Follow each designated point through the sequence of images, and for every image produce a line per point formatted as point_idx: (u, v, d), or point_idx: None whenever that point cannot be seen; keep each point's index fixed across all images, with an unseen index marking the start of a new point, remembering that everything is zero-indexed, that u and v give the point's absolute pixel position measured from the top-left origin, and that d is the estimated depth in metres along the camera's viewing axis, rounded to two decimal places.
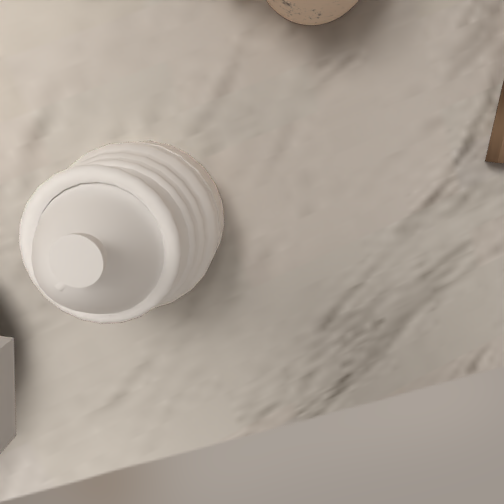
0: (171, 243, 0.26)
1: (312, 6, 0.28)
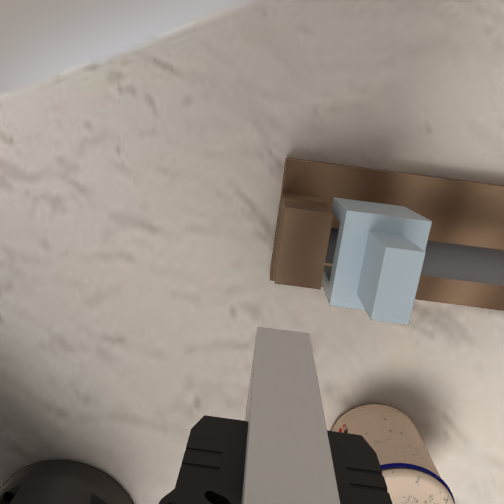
0: None
1: None
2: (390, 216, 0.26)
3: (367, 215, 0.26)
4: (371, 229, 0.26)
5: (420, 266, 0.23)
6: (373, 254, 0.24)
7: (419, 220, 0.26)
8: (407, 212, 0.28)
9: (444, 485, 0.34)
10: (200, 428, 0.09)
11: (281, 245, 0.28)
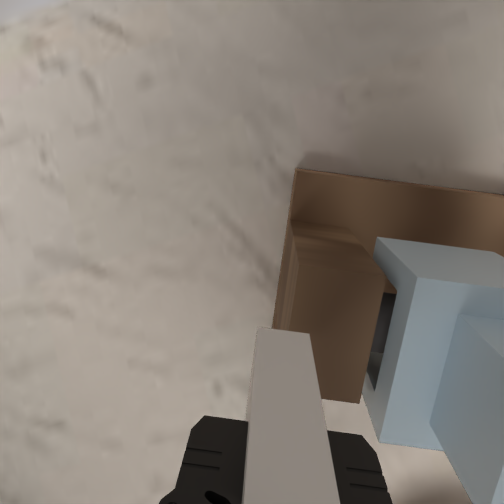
0: None
1: None
2: (500, 288, 0.14)
3: (456, 286, 0.14)
4: (463, 312, 0.14)
5: None
6: (479, 373, 0.12)
7: None
8: None
9: None
10: (200, 428, 0.09)
11: (291, 330, 0.16)
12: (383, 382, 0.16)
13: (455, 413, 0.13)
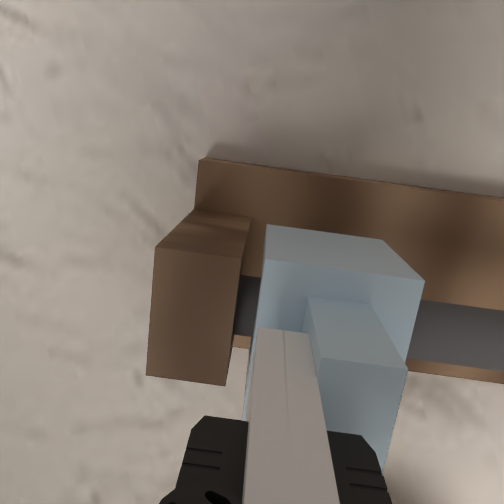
0: None
1: None
2: (347, 270, 0.14)
3: (303, 268, 0.14)
4: (312, 294, 0.14)
5: (397, 397, 0.10)
6: None
7: (401, 278, 0.14)
8: (383, 256, 0.16)
9: None
10: (201, 428, 0.09)
11: (153, 312, 0.16)
12: (249, 365, 0.16)
13: None
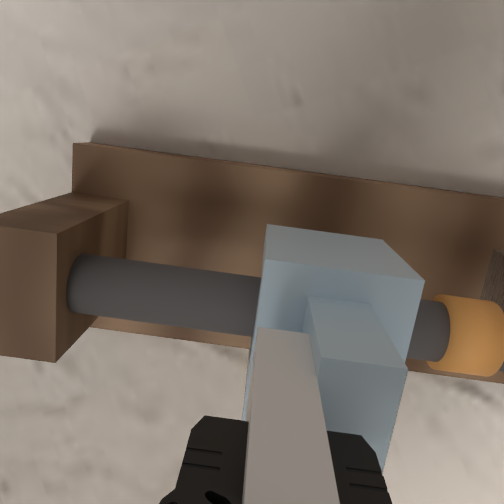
0: None
1: None
2: (347, 270, 0.14)
3: (303, 268, 0.14)
4: (312, 294, 0.14)
5: (397, 397, 0.10)
6: None
7: (401, 278, 0.14)
8: (383, 255, 0.16)
9: None
10: (200, 428, 0.09)
11: None
12: (249, 365, 0.16)
13: None
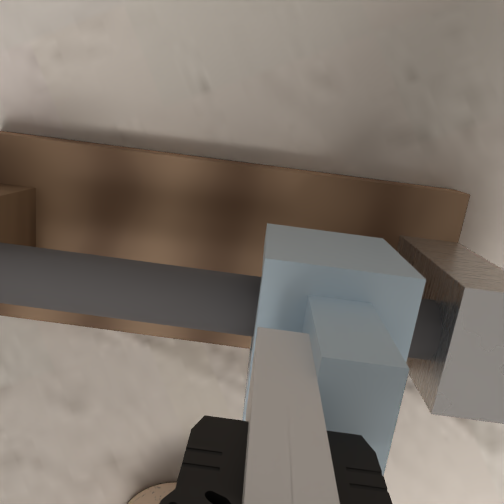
0: None
1: None
2: (347, 269, 0.14)
3: (304, 267, 0.14)
4: (312, 293, 0.14)
5: (398, 397, 0.10)
6: None
7: (402, 277, 0.14)
8: (384, 254, 0.16)
9: None
10: (200, 428, 0.09)
11: None
12: (249, 365, 0.16)
13: None
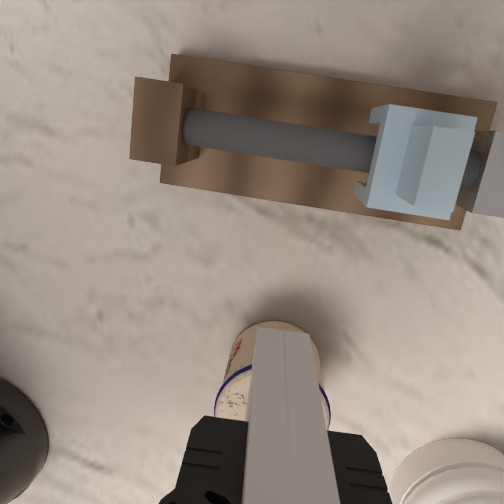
0: None
1: None
2: (434, 111, 0.25)
3: (410, 109, 0.25)
4: (414, 125, 0.25)
5: (468, 148, 0.22)
6: (417, 144, 0.24)
7: (464, 116, 0.25)
8: None
9: None
10: (200, 428, 0.09)
11: (133, 118, 0.28)
12: (370, 176, 0.27)
13: (406, 174, 0.25)
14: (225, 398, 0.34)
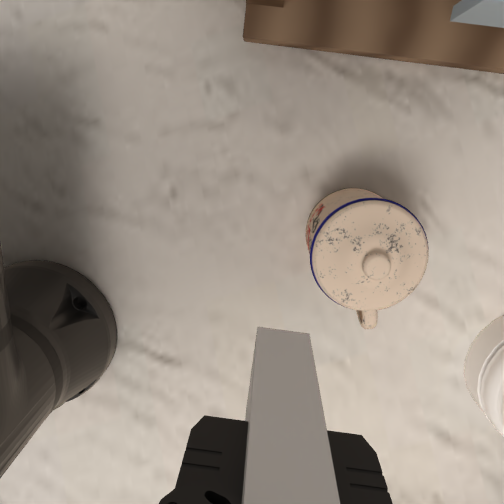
0: None
1: None
2: None
3: None
4: None
5: None
6: None
7: None
8: None
9: (416, 220, 0.33)
10: (200, 428, 0.09)
11: None
12: None
13: None
14: (324, 236, 0.33)
